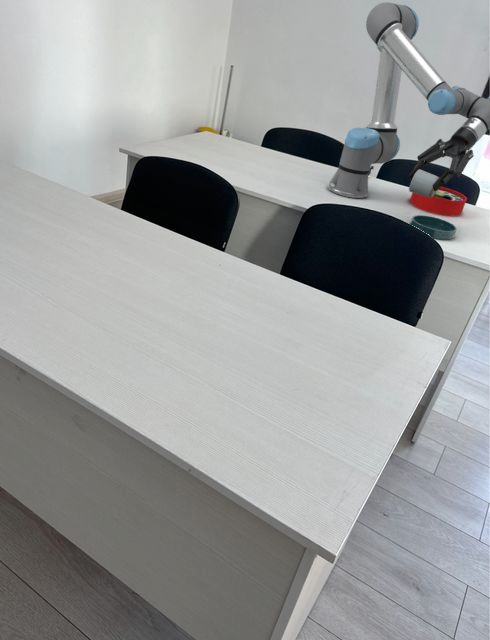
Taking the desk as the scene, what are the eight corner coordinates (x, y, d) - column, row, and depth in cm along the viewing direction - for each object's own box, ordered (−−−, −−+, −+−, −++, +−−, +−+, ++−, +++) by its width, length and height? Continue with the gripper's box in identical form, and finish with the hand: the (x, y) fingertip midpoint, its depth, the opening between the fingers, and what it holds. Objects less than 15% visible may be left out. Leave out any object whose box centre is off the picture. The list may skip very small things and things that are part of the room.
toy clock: (435, 200, 213) (404, 182, 229) (429, 215, 216) (399, 197, 232) (478, 202, 220) (445, 185, 235) (472, 217, 223) (440, 199, 239)
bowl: (411, 220, 208) (414, 212, 206) (454, 231, 204) (457, 223, 202) (406, 231, 196) (409, 222, 194) (452, 243, 192) (455, 235, 190)
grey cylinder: (430, 200, 194) (438, 177, 190) (406, 193, 197) (414, 170, 193) (437, 195, 202) (446, 173, 198) (415, 188, 205) (423, 166, 201)
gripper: (439, 118, 200) (394, 165, 200) (495, 136, 185) (447, 186, 185) (443, 134, 205) (399, 179, 205) (497, 152, 191) (450, 202, 191)
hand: (421, 183), depth 195 cm, fingers closed on grey cylinder, 9 cm apart
